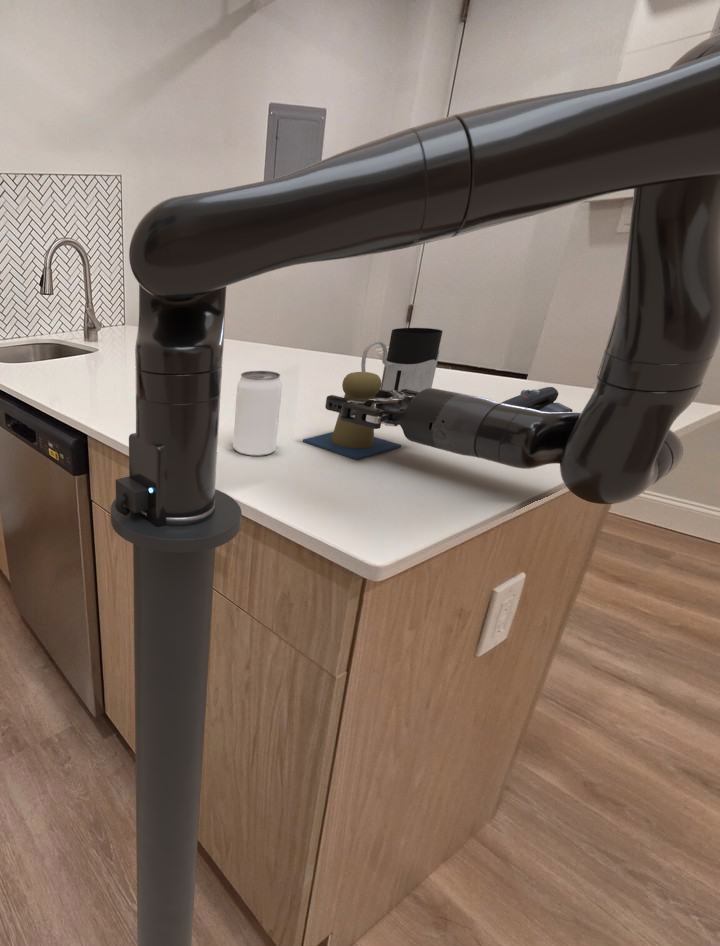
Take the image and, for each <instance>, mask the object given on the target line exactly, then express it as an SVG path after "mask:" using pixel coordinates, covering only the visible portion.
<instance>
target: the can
mask: <svg viewBox="0 0 720 946" xmlns="http://www.w3.org/2000/svg"><path fill="white" fill-rule="evenodd" d="M282 390H283V384H282V382H281V374H280V372H276V371H271V370H248V371H243V372H242V373H241V374H240V379H239V381H238V382H237V385H236V394H235V395H236V396H235V408H234V409H235V410H234V411H235V412H234V426H233V441H232V448H233V449H234V450H235V452H237V453H238V454H241V455H245V456H250V457H263V456H269V455H271V454H273V453H274V451H276V448H277V442H278V441H277V439H278V431H279V430H278V429H279V422H280V413H281V412H280V411H281V403H282Z"/></svg>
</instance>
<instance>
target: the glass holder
mask: <svg viewBox="0 0 720 946" xmlns="http://www.w3.org/2000/svg"><path fill="white" fill-rule="evenodd" d="M442 336H443V330H442V329H439V328H438V329H437V328H430V327H401V328H400V327H399V328H394V329H391V333H390V340H389V344H388V349H387V346H386V344H385V343H384V342H382V341H377V340H376V341H373V342H371V343H369V344H368V345H367V346H365V348H364V350H363V353H362V356H361V362H360V363H361V364H360V367H361V368H360V369H361V372H367V371H366V362H367V355H368V352H369V350H370V349H371V348H372V347H373V346H375V345H377V344H378V345H380V346H381V349H382V357H381V358H382V359H381V361H382V364H383V365H384V366H383V371H382V377H381V388H380V389H381V390H386V391H390V390H396V391H401V390H402V389H408V390H412V391H417V392H421V391H422V390H425V389H428V388H433V383H434V378H435V374H436V369H437V365H438V360H439V355H440V346H441V342H442Z"/></svg>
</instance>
